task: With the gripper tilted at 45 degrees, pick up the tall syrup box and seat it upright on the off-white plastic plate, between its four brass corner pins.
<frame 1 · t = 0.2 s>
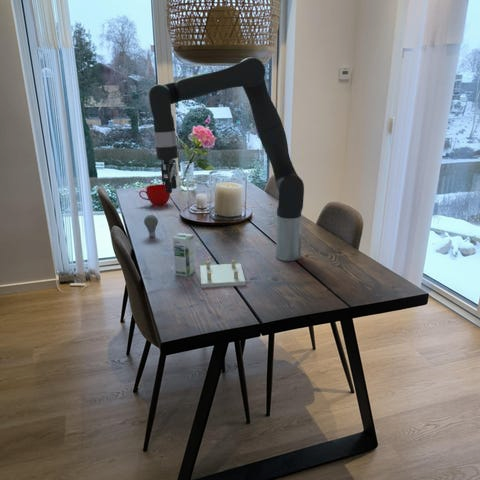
hand: (171, 190, 157), 28 cm above the table, tool pointing down, fingers open, 8 cm apart
pin plate: (221, 276, 155), on the table
ceramic cup: (155, 205, 241), on the table
syrup box: (185, 273, 159), on the table
light bulb: (152, 236, 194), on the table
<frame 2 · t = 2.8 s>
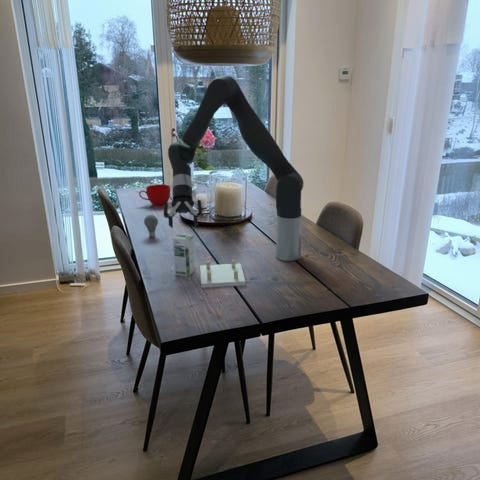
hand: (183, 226, 161), 15 cm above the table, tool tilted 45°, fingers open, 8 cm apart
nothing on the table moved.
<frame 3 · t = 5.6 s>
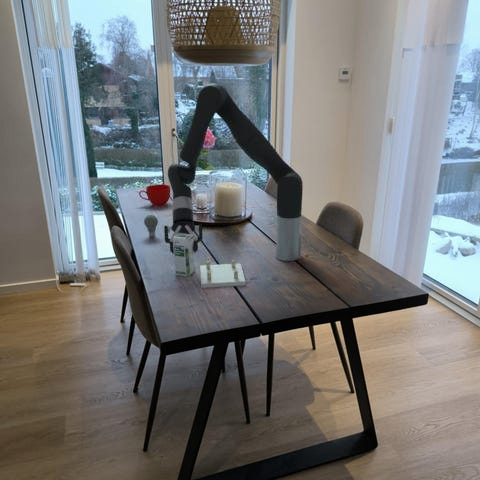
hand: (184, 252, 155), 8 cm above the table, tool tilted 45°, fingers closed on syrup box, 7 cm apart
syrup box: (185, 273, 159), on the table, touching gripper
everything else where it was.
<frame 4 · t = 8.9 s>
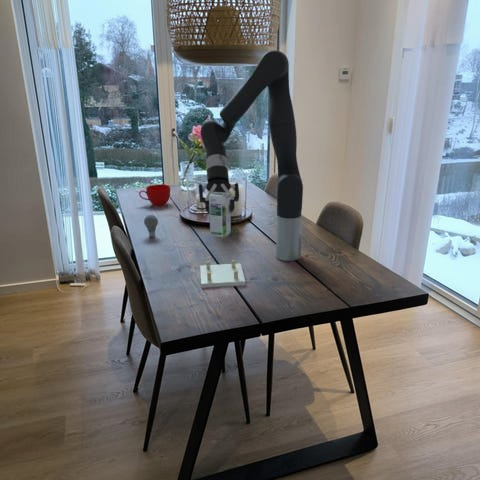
hand: (220, 211, 147), 24 cm above the table, tool tilted 45°, fingers closed on syrup box, 7 cm apart
syrup box: (220, 234, 151), point 16 cm above the table, touching gripper
everything else where it was.
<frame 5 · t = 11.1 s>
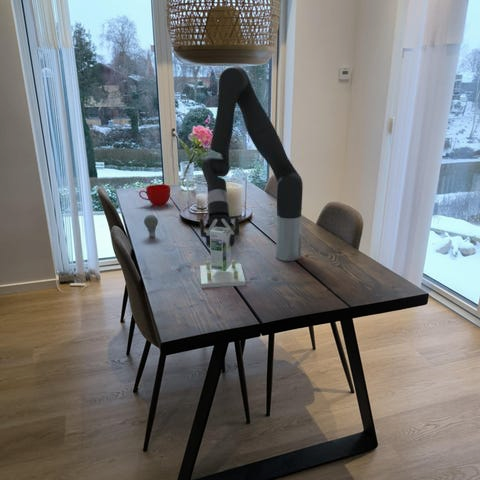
hand: (220, 246, 152), 11 cm above the table, tool tilted 45°, fingers closed on syrup box, 7 cm apart
syrup box: (220, 267, 155), point 3 cm above the table, touching gripper
everything else where it was.
when the fingers open (11 cm above the table, at t = 12.6 s): syrup box drops 1 cm, resting on pin plate.
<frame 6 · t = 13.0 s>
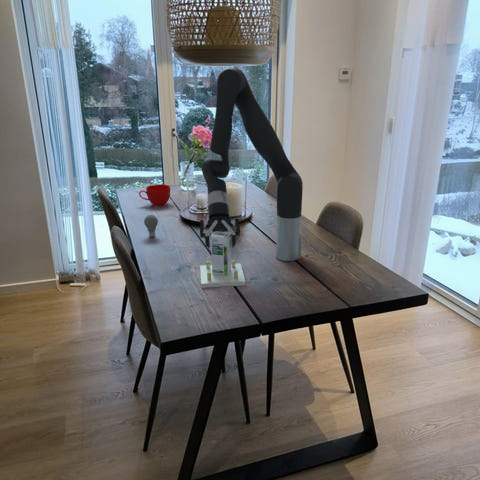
hand: (221, 247, 152), 11 cm above the table, tool tilted 45°, fingers open, 8 cm apart
syrup box: (221, 272, 156), point 1 cm above the table, touching pin plate
everything else where it was.
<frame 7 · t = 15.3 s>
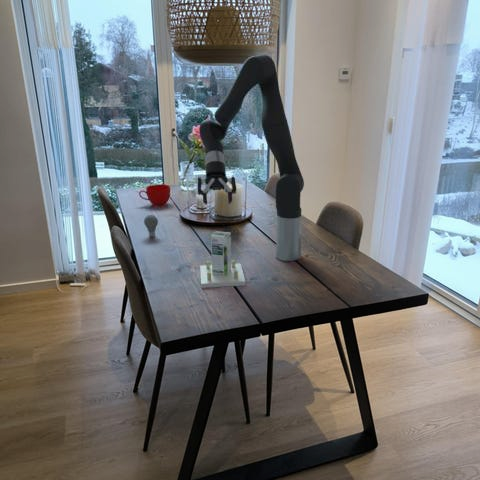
hand: (217, 203, 159), 24 cm above the table, tool tilted 45°, fingers open, 8 cm apart
nothing on the table moved.
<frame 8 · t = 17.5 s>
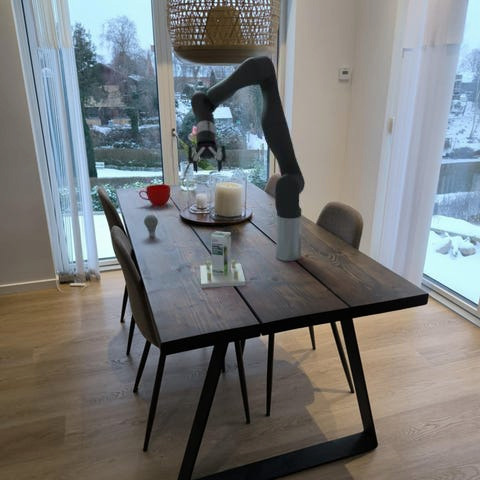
hand: (207, 171, 163), 34 cm above the table, tool tilted 45°, fingers open, 8 cm apart
nothing on the table moved.
at the end: syrup box 1.2 cm off-centre on the pin plate, point 1.3 cm above the pin plate's base; syrup box tilted 0°; the gripper is holding nothing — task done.
